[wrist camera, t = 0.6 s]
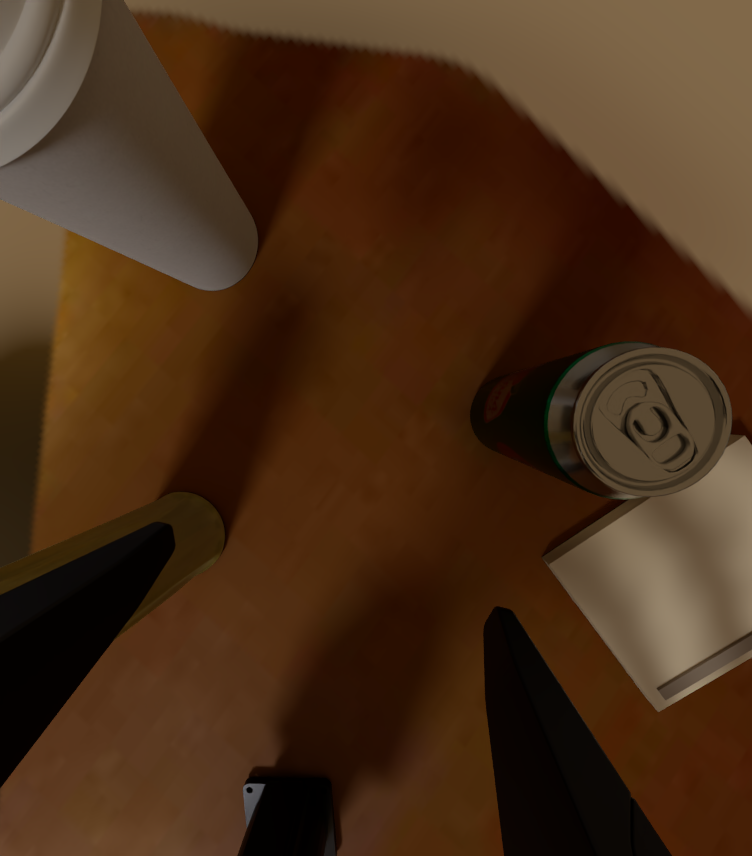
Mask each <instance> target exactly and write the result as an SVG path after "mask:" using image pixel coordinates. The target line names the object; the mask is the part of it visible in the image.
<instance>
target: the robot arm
mask: <svg viewBox="0 0 752 856" xmlns="http://www.w3.org/2000/svg"><path fill="white" fill-rule="evenodd" d="M175 546H176V543H175V537H174V532H173V527H172V526H171V525H170V524H167V523H163V522H158V521H157V522H153V523H151V524H148V525H146V526H144V527H142V528H140V529H138V530H136V531H134V532H132V533H130V534H127V535H125V536H123V537H121V538H119V539H117V540H115V541H113V542H111V543H108V544H106V545H104V546H102V547H100V548H98V549H96V550H94V551H92V552H90V553H87V554H85V555H83V556H81V557H79V558H77V559H75V560H73V561H71V562H69V563H66V564H64V565H62V566H60V567H58V568H56V569H54V570H52V571H50V572H47V573H45V574H43V575H41V576H39V577H37V578H35V579H33V580H31V581H29V582H26V583H24V584H22V585H20V586H18V587H16V588H14V589H12V590H10V591H8V592H5V593H3V594H1V595H0V788H1V787H2V785H3V784H4V783H5V781H6V780H7V779H8V777H9V776H10V775H11V773H12V772H13V771H14V770H15V768H16V767H17V766H18V764H19V763H20V762H21V760H22V759H23V758H24V756H25V755H26V754H27V753H28V751H29V750H30V749H31V747H32V746H33V745H34V743H35V742H36V741H37V740H38V738H39V737H40V736H41V734H42V733H43V732H44V730H45V729H46V728H47V726H48V725H49V724H50V723H51V721H52V720H53V719H54V717H55V716H56V715H57V713H58V712H59V711H60V709H61V708H62V707H63V706H64V704H65V703H66V702H67V700H68V699H69V698H70V696H71V695H72V694H73V693H74V691H75V690H76V689H77V687H78V686H79V685H80V683H81V682H82V681H83V679H84V678H85V677H86V676H87V674H88V673H89V672H90V670H91V669H92V668H93V666H94V665H95V664H96V662H97V661H98V660H99V659H100V657H101V656H102V655H103V653H104V652H105V651H106V649H107V648H108V647H109V646H110V644H111V643H112V642H113V640H114V639H115V638H116V636H117V635H118V634H119V632H120V631H121V630H122V629H123V627H124V626H125V625H126V623H127V622H128V621H129V619H130V618H131V617H132V615H133V614H134V613H135V611H136V610H137V609H138V607H139V606H140V604H141V603H142V601H143V600H144V598H145V597H146V595H147V594H148V592H149V590H150V589H151V587H152V586H153V584H154V583H155V581H156V579H157V578H158V576H159V575H160V573H161V572H162V570H163V568H164V567H165V565H166V564H167V562H168V560H169V559H170V557H171V556H172V554H173V552H174V550H175ZM483 637H484V675H485V700H486V710H487V719H488V727H489V735H490V744H491V752H492V760H493V768H494V776H495V785H496V793H497V801H498V809H499V818H500V826H501V834H502V842H503V851H504V856H672V855H671V854H670V852H669V851H668V849H667V848H666V846H665V845H664V843H663V842H662V840H661V839H660V837H659V836H658V834H657V833H656V831H655V830H654V828H653V827H652V825H651V824H650V822H649V820H648V819H647V817H646V816H645V814H644V813H643V811H642V810H641V808H640V807H639V805H638V803H637V802H636V800H635V799H634V798H632V797H631V794H630V791H629V790H628V788H627V787H626V785H625V784H624V782H623V781H622V779H621V777H620V776H619V774H618V773H617V771H616V770H615V768H614V767H613V765H612V764H611V762H610V760H609V759H608V757H607V756H606V754H605V753H604V751H603V750H602V748H601V747H600V745H599V743H598V742H597V740H596V739H595V737H594V736H593V734H592V733H591V731H590V730H589V728H588V726H587V725H586V723H585V722H584V720H583V719H582V717H581V716H580V714H579V713H578V711H577V710H576V708H575V706H574V705H573V703H572V702H571V700H570V699H569V697H568V696H567V694H566V693H565V691H564V689H563V688H562V686H561V685H560V683H559V682H558V680H557V679H556V677H555V676H554V674H553V672H552V671H551V669H550V668H549V666H548V665H547V663H546V662H545V660H544V659H543V657H542V655H541V654H540V652H539V651H538V649H537V648H536V646H535V645H534V643H533V642H532V640H531V638H530V637H529V635H528V634H527V632H526V631H525V629H524V628H523V626H522V625H521V623H520V621H519V620H518V618H517V617H516V615H515V614H514V612H513V611H511V610H510V609H507V608H503V607H499V606H496V607H494V609H493V610H492V612H491V614H490V615H489V617H488V619H487V620H486V622H485V625H484V631H483ZM243 795H244V805H245V815H246V825H247V830H246V833H245V836H244V838H243V841H242V844H241V847H240V850H239V853H238V855H237V856H337V847H336V835H335V823H334V811H333V798H332V786H331V782H330V781H329V780H328V779H325V778H259V777H251V778H248V779H247V780H246V782H245V785H244V787H243Z"/></svg>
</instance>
